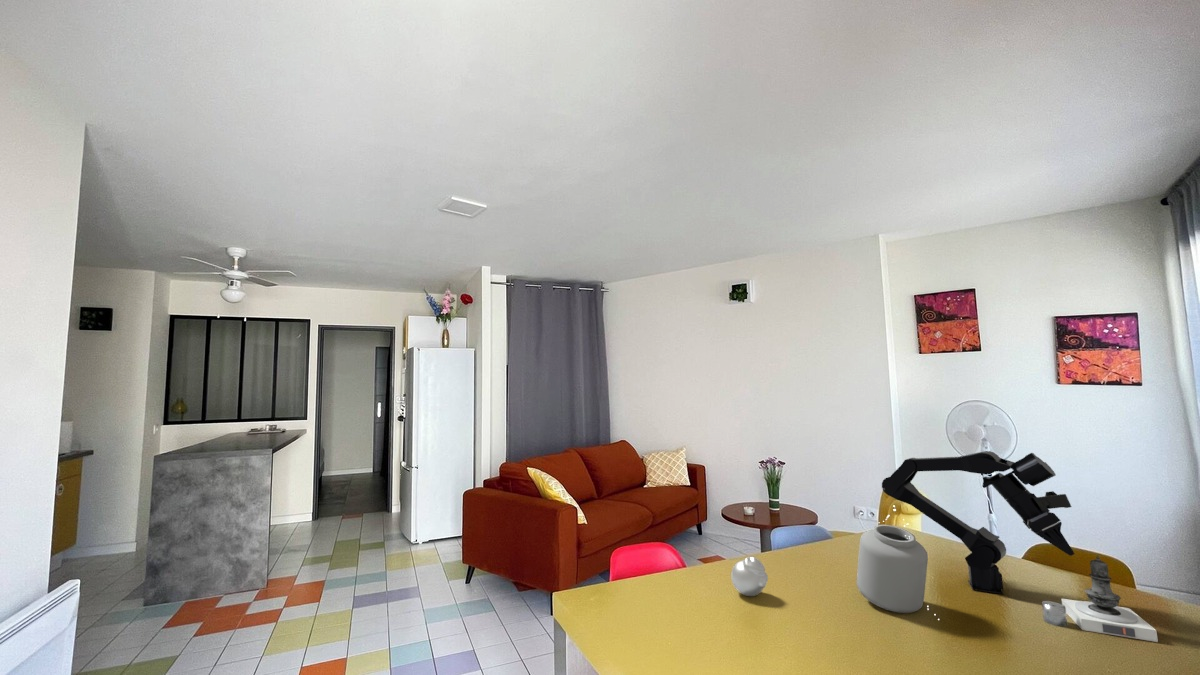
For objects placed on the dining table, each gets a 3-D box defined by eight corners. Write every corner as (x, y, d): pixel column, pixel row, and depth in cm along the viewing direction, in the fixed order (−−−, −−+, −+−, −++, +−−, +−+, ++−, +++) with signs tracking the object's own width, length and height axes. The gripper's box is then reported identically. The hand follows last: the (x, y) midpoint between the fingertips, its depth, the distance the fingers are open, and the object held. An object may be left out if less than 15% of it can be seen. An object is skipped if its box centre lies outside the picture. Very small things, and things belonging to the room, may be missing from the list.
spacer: (1047, 624, 112) (1045, 606, 112) (1041, 617, 115) (1039, 599, 116) (1070, 628, 110) (1068, 609, 111) (1063, 620, 114) (1061, 602, 114)
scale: (1083, 631, 109) (1081, 616, 109) (1062, 608, 120) (1061, 596, 120) (1159, 643, 103) (1157, 628, 103) (1130, 618, 114) (1128, 605, 114)
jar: (955, 621, 114) (945, 511, 117) (900, 627, 111) (892, 514, 114) (893, 589, 132) (886, 495, 135) (845, 594, 129) (838, 497, 132)
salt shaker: (1121, 618, 108) (1114, 562, 109) (1084, 609, 113) (1078, 555, 114) (1124, 611, 112) (1117, 556, 113) (1088, 602, 116) (1082, 550, 118)
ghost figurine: (748, 605, 123) (747, 564, 125) (725, 591, 132) (723, 553, 133) (776, 598, 127) (774, 559, 128) (751, 586, 136) (749, 548, 137)
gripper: (1051, 478, 119) (1112, 540, 110) (1043, 479, 133) (1096, 534, 125) (1006, 501, 123) (1062, 563, 114) (1003, 500, 137) (1052, 554, 129)
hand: (1069, 553), depth 120 cm, fingers open, 9 cm apart
